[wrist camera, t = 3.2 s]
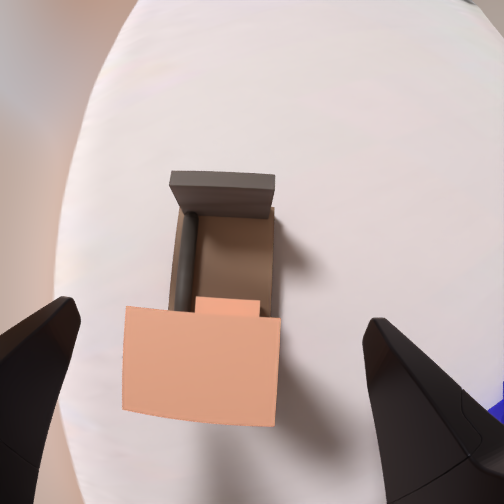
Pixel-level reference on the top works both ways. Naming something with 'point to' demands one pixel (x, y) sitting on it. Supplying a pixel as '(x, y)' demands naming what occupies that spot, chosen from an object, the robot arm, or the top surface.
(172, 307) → the grey block holder
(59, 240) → the top surface
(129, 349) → the block
